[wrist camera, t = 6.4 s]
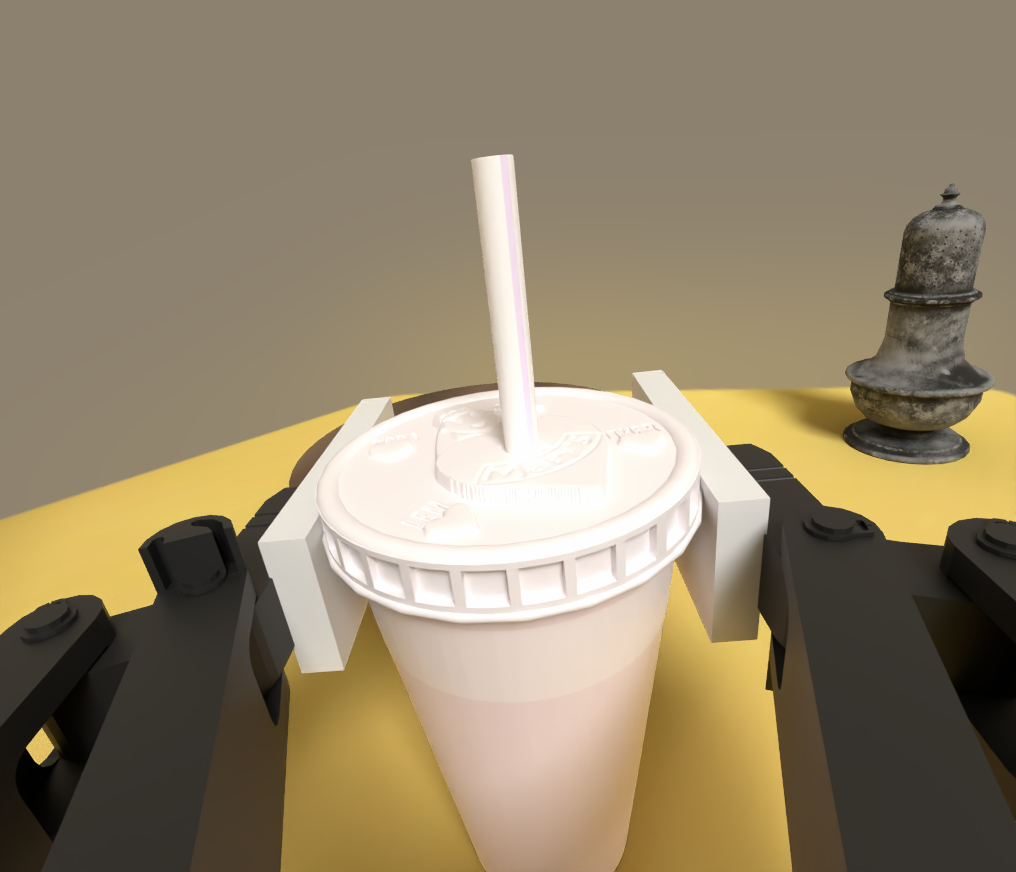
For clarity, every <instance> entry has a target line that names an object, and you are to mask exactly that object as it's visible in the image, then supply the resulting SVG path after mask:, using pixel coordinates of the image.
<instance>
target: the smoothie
mask: <svg viewBox="0 0 1016 872" xmlns="http://www.w3.org/2000/svg"><path fill="white" fill-rule="evenodd" d="M471 164H472V172H473V180H474V188H475V197H476V205H477V214H478V222H479V231H480V239H481V248H482V256H483V265H484V273H485V281H486V290H487V298H488V307H489V314H490V323H491V331H492V340H493V349H494V357H495V366H496V374H497V382H498V390H494V391H487V392H479V393H474V394H469V395H464V396H459V397H454V398H450V399H446V400H442V401H438V402H435V403H431V404H427V405H424V406H421V407H418V408H416V409H413V410H410V411H407V412H404V413H401V414H399V415H397V416H395V417H392V418H390V419H388V420H386V421H383V422H381V423H379V424H377V425H376V426H374V427H372V428H370V429H369V430H367V431H365V432H363V433H362V434H360V435H358V436H357V437H356V438H354V439H353V440H352V441H350V442H349V443H348V444H347V445H345V446H344V447H343V448H341V449H340V450H339V451H338V452H337V454H336V455H335V456H334V457H333V458H332V459H331V460H330V462H329V463H328V464H327V465H326V466H325V468H324V470H323V471H322V473H321V475H320V477H319V479H318V482H317V485H316V490H315V502H316V506H317V509H318V513H319V516H320V520H321V523H322V527H323V530H324V534H323V538H322V542H323V545H324V548H325V551H326V554H327V557H328V560H329V563H330V566H331V569H332V570H333V571H334V572H335V573H336V574H337V575H338V576H339V577H340V578H341V579H342V580H343V581H344V582H345V583H346V584H347V585H348V586H350V587H351V588H352V589H353V590H354V591H355V592H356V593H357V594H358V595H360V596H362V597H364V598H367V600H368V602H369V605H370V607H371V610H372V612H373V615H374V617H375V620H376V622H377V625H378V627H379V630H380V632H381V635H382V637H383V639H384V642H385V644H386V646H387V648H388V649H389V651H390V654H391V656H392V658H393V661H394V663H395V665H396V668H397V670H398V672H399V675H400V677H401V679H402V682H403V684H404V686H405V689H406V691H407V693H408V696H409V698H410V700H411V703H412V705H413V707H414V710H415V712H416V714H417V716H418V719H419V721H420V723H421V726H422V728H423V730H424V733H425V735H426V737H427V740H428V742H429V744H430V747H431V749H432V751H433V754H434V756H435V758H436V761H437V763H438V765H439V768H440V770H441V772H442V775H443V777H444V779H445V781H446V784H447V786H448V788H449V791H450V793H451V795H452V798H453V800H454V802H455V805H456V807H457V809H458V812H459V814H460V816H461V819H462V821H463V823H464V826H465V828H466V830H467V833H468V835H469V837H470V840H471V842H472V844H473V846H474V849H475V851H476V853H477V856H478V858H479V860H480V862H481V864H482V866H483V868H484V869H485V871H486V872H614V871H615V869H616V868H617V866H618V864H619V862H620V860H621V858H622V855H623V852H624V849H625V846H626V841H627V835H628V830H629V824H630V818H631V812H632V806H633V800H634V794H635V788H636V783H637V777H638V771H639V765H640V759H641V753H642V747H643V741H644V735H645V730H646V724H647V718H648V712H649V706H650V700H651V694H652V688H653V682H654V677H655V671H656V665H657V659H658V653H659V647H660V641H661V635H662V630H663V624H664V618H665V614H666V611H667V604H668V598H669V591H670V584H671V577H672V570H673V564H674V560H675V559H677V558H678V557H679V556H681V555H682V554H683V552H684V551H685V549H686V547H687V546H688V544H689V542H690V541H691V539H692V537H693V536H694V534H695V532H696V531H697V529H698V527H699V526H700V524H701V518H702V498H703V495H702V491H701V489H700V467H701V453H700V448H699V445H698V443H697V440H696V439H695V437H694V436H693V434H692V433H691V432H690V431H689V429H688V428H687V427H686V426H685V425H683V424H682V423H681V422H680V421H679V420H678V419H677V418H675V417H674V416H672V415H670V414H668V413H667V412H665V411H663V410H662V409H660V408H658V407H656V406H654V405H651V404H648V403H646V402H643V401H641V400H638V399H635V398H631V397H627V396H623V395H619V394H615V393H611V392H604V391H598V390H591V389H581V388H567V387H534V376H533V367H532V354H531V344H530V333H529V322H528V311H527V300H526V289H525V279H524V267H523V258H522V257H523V256H522V245H521V234H520V224H519V212H518V201H517V190H516V181H515V169H514V159H513V155H497V156H489V157H482V158H476V159H472V160H471Z"/></svg>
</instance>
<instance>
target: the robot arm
mask: <svg viewBox="0 0 1016 872" xmlns="http://www.w3.org/2000/svg"><path fill="white" fill-rule="evenodd" d="M632 396H633V398H635V399H638V400H641V401H643V402H646V403H648V404H651V405H654V406H656V407H658V408H660V409H662V410H663V411H665V412H667V413H668V414H670V415H672V416H674V417H675V418H677V419H678V420H679V421H680V422H681V423H682V424H683V425H685V426H686V427H687V428H688V429H689V431H690V432H691V433H692V434H693V436H694V437H695V439H696V440H697V443H698V445H699V448H700V453H701V467H700V489H701V491H702V495H703V498H702V518H701V524H700V526H699V527H698V529H697V531H696V532H695V534H694V536H693V537H692V539H691V541H690V542H689V544H688V546H687V547H686V549H685V551H684V552H683V554H682V555H681V556H679V557H678V558H677V559H675V562H676V564H677V566H678V568H679V571H680V573H681V575H682V577H683V580H684V582H685V584H686V586H687V589H688V591H689V593H690V595H691V598H692V600H693V602H694V604H695V607H696V609H697V611H698V613H699V616H700V618H701V620H702V623H703V625H704V627H705V629H706V632H707V634H708V636H709V638H710V641H711V643H715V642H728V641H742V640H755V639H757V636H758V625H759V614H760V613H761V615H762V616H763V618H764V620H765V621H766V623H767V625H768V626H769V628H770V630H771V631H772V632H771V642H770V651H769V661H768V670H767V680H766V690H771V691H773V695H774V704H775V713H776V722H777V732H778V741H779V750H780V760H781V769H782V778H783V787H784V797H785V806H786V815H787V824H788V834H789V843H790V852H791V862H792V871H793V872H1016V822H1015V821H1016V522H1013V521H1009V522H1008V521H1006V520H1003V519H996V518H993V519H984V518H972V519H966V520H959V521H957V522H955V523H954V524H952V525H951V526H949V528H948V532H947V536H946V540H945V544H944V546H938V545H928V544H918V543H908V542H898V541H892V540H886V538H885V536H884V534H883V532H882V531H881V530H880V529H879V527H878V526H877V525H876V524H875V523H874V522H872V521H870V520H869V519H867V518H865V517H864V516H862V515H860V514H857V513H854V512H851V511H848V510H845V509H841V508H835V507H828V506H823V505H822V504H821V503H820V502H819V501H818V500H817V499H816V498H815V497H814V496H813V495H812V494H811V493H810V492H809V491H808V490H807V489H806V488H805V487H804V486H803V485H802V484H801V483H800V482H799V481H798V480H797V479H796V478H794V477H793V475H792V474H791V473H790V472H789V471H788V470H787V469H786V468H783V465H782V464H781V463H780V462H779V461H778V460H777V459H776V458H775V457H774V456H773V455H772V454H771V453H769V452H767V451H765V450H763V449H761V448H759V447H757V446H754V445H752V444H740V445H729V446H726V445H725V444H724V443H723V442H722V441H721V439H720V438H719V437H718V436H717V435H716V433H715V432H714V431H713V430H712V429H711V428H710V426H709V425H708V424H707V423H706V422H705V420H704V419H703V418H702V417H701V416H700V415H699V413H698V412H697V411H696V410H695V409H694V407H693V406H692V405H691V404H690V403H689V402H688V400H687V399H686V398H685V397H684V396H683V394H682V393H681V392H680V391H679V390H678V389H677V387H676V386H675V385H674V384H673V383H672V382H671V380H670V379H669V378H668V377H667V376H666V374H665V373H664V372H663V371H662V370H658V371H647V372H637V373H632ZM392 417H394V412H393V407H392V402H391V397H384V398H374V399H364V400H362V401H361V402H360V403H359V405H358V406H357V407H356V409H355V410H354V412H353V413H352V414H351V416H350V417H349V418H348V420H347V421H346V422H345V424H344V425H343V427H342V428H341V429H340V431H339V432H338V433H337V435H336V436H335V438H334V439H333V440H332V442H331V443H330V444H329V446H328V447H327V448H326V450H325V451H324V453H323V454H322V455H321V457H320V458H319V459H318V461H317V462H316V463H315V465H314V466H313V468H312V469H311V470H310V472H309V473H308V474H307V476H306V477H305V479H304V480H303V481H302V483H301V484H300V485H299V487H290V488H284V489H282V490H281V491H280V492H278V493H277V494H275V495H274V496H272V497H271V498H269V499H268V500H266V501H265V502H264V504H263V505H262V506H261V507H260V509H259V510H258V511H257V512H256V514H255V517H252V519H251V520H250V521H249V522H248V524H247V525H246V526H245V527H246V529H243V530H242V531H241V532H240V534H239V535H238V536H236V533H235V531H234V528H233V525H232V522H231V520H230V519H228V518H226V517H224V516H217V515H207V516H201V517H194V518H191V519H188V520H184V521H181V522H178V523H175V524H173V525H171V526H169V527H167V528H165V529H162V530H160V531H159V532H157V533H156V534H154V535H153V536H151V537H150V538H149V539H147V540H146V541H145V542H144V543H143V544H142V546H141V547H140V548H139V549H138V550H139V553H140V555H141V557H142V559H143V562H144V564H145V566H146V569H147V571H148V573H149V575H150V578H151V580H152V582H153V584H154V587H155V589H156V591H157V593H158V594H157V596H156V599H155V601H154V603H153V605H150V606H147V607H143V608H140V609H136V610H132V611H129V612H125V613H121V614H118V615H114V616H111V617H110V616H109V614H108V612H107V610H106V608H105V606H104V604H103V602H102V600H101V599H100V598H98V597H96V596H94V595H78V596H74V597H69V598H65V599H63V598H62V599H58V600H55V601H52V602H51V604H49V603H47V604H45V605H43V606H40V607H38V608H37V609H36V610H35V611H33V612H32V613H30V614H28V615H26V616H24V617H23V618H21V619H20V620H18V621H17V622H16V623H15V624H13V625H12V626H11V627H9V628H8V629H7V630H6V631H4V632H3V633H2V634H1V635H0V872H280V869H281V850H282V831H283V812H284V794H285V775H286V756H287V737H288V719H289V700H290V688H289V684H288V680H287V677H286V674H285V672H284V667H285V665H286V663H287V661H288V659H289V656H290V654H291V652H292V650H293V649H294V652H295V655H296V658H297V661H298V664H299V667H300V670H301V673H314V672H327V671H340V670H345V667H346V664H347V661H348V658H349V656H350V653H351V650H352V647H353V644H354V641H355V639H356V636H357V633H358V630H359V627H360V624H361V622H362V619H363V616H364V613H365V610H366V607H367V605H368V600H367V598H364V597H362V596H360V595H358V594H357V593H356V592H355V591H354V590H353V589H352V588H351V587H350V586H348V585H347V584H346V583H345V582H344V581H343V580H342V579H341V578H340V577H339V576H338V575H337V574H336V573H335V572H334V571H333V570H332V569H331V566H330V563H329V560H328V557H327V554H326V551H325V548H324V545H323V542H322V538H323V534H324V530H323V527H322V523H321V520H320V516H319V513H318V509H317V506H316V502H315V490H316V485H317V482H318V479H319V477H320V475H321V473H322V471H323V470H324V468H325V466H326V465H327V464H328V463H329V462H330V460H331V459H332V458H333V457H334V456H335V455H336V454H337V452H338V451H339V450H340V449H341V448H343V447H344V446H345V445H347V444H348V443H349V442H350V441H352V440H353V439H354V438H356V437H357V436H358V435H360V434H362V433H363V432H365V431H367V430H369V429H370V428H372V427H374V426H376V425H377V424H379V423H381V422H383V421H386V420H388V419H390V418H392ZM41 728H43V730H44V731H45V733H46V735H47V736H48V738H49V739H50V741H51V743H52V744H53V746H54V749H53V750H52V752H51V753H50V755H49V756H48V757H47V759H45V760H44V761H43V762H42V763H41V764H40V765H38V764H37V763H36V762H35V761H34V760H33V758H32V757H31V755H30V754H29V752H28V751H27V749H26V746H27V745H28V744H29V743H30V741H31V740H32V739H33V738H34V736H35V735H36V734H37V733H38V731H39V730H40V729H41Z"/></svg>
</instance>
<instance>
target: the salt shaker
mask: <svg viewBox="0 0 1016 872" xmlns="http://www.w3.org/2000/svg"><path fill="white" fill-rule="evenodd" d="M959 194H961V193H959V192H958V188H957V187H955V184H950V185H949V187H948V188H946V189H945V191H944V193H943V194H941V196H942V197H943V201H942V204H941V205H937V206H935V208H933V210H930V211H927V212H924V213H921V214H920V215H918V216H916V217H915V218H913V219H912V220H911V221H910V222H909V223H908V225H907V226H906V229H905V231H904V235H903V241H902V248H901V253H900V259H899V265H898V271H897V277H896V283H895V287H894V288H892V289H890V290H888V291H886V292H885V293H884V297H885V298H886V299H888V300H889V301H890V308H889V314H888V320H887V326H886V332H885V337H884V340H883V342H882V344H881V346H880V349H879V351H878V353H877V355H875V356H874V357H872V358H869V359H864V360H861V361H857V362H855V363H853V364H851V365H849V366H848V367H847V369H846V371H845V374H846V376H847V377H848V379H849V380H851V387H850V390H851V393H852V396H853V399H854V402H855V405H856V407H857V408H858V409H859V410H860V411H861V412H862V413H863V414H864V415H865V416H866V417H867V418H866V419H863V420H860V421H858V422H856V423H853V424H851V425H849V426H848V427H847V428H845V430H844V433H843V437H844V439H845V441H846V442H847V443H848V444H849V445H850V446H852V447H853V448H855V449H857V450H859V451H861V452H863V453H866V454H869V455H872V456H874V457H878V458H882V459H886V460H891V461H897V462H904V463H914V464H941V463H947V462H953V461H956V460H959V459H961V458H964V457H965V456H966V455H967V454H968V453H969V451H970V444H969V443H968V442H967V441H966V439H965V438H964V437H962V436H961V435H959V434H958V433H956V432H955V431H953V430H952V429H950V428H949V427H950V426H953V425H955V424H956V423H958V422H960V421H962V420H964V419H966V418H967V417H968V416H969V415H970V414H971V413H972V411H973V410H974V409H975V408H976V407H977V405H978V404H979V403H980V402H981V399H982V395H983V392H985V391H988V390H989V389H990V388H991V387H992V386H994V384H995V380H994V377H993V376H992V375H991V374H990V373H989V372H988V371H986V370H984V369H981V368H979V367H977V366H973V365H970V364H969V363H968V362H967V361H966V360H965V354H964V335H965V330H966V326H967V322H968V317H969V313H970V308H971V303H972V302H974V301H975V300H978V299H980V298H981V297H982V292H980V291H978V290H977V289H976V288H973V284H974V280H975V275H976V271H977V266H978V262H979V257H980V253H981V248H982V244H983V239H984V234H985V230H986V223H985V220H984V218H983V217H982V215H981V214H979V213H978V212H976V211H974V210H972V209H967V208H963V206H962V204H956V197H957V196H958V195H959Z"/></svg>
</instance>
